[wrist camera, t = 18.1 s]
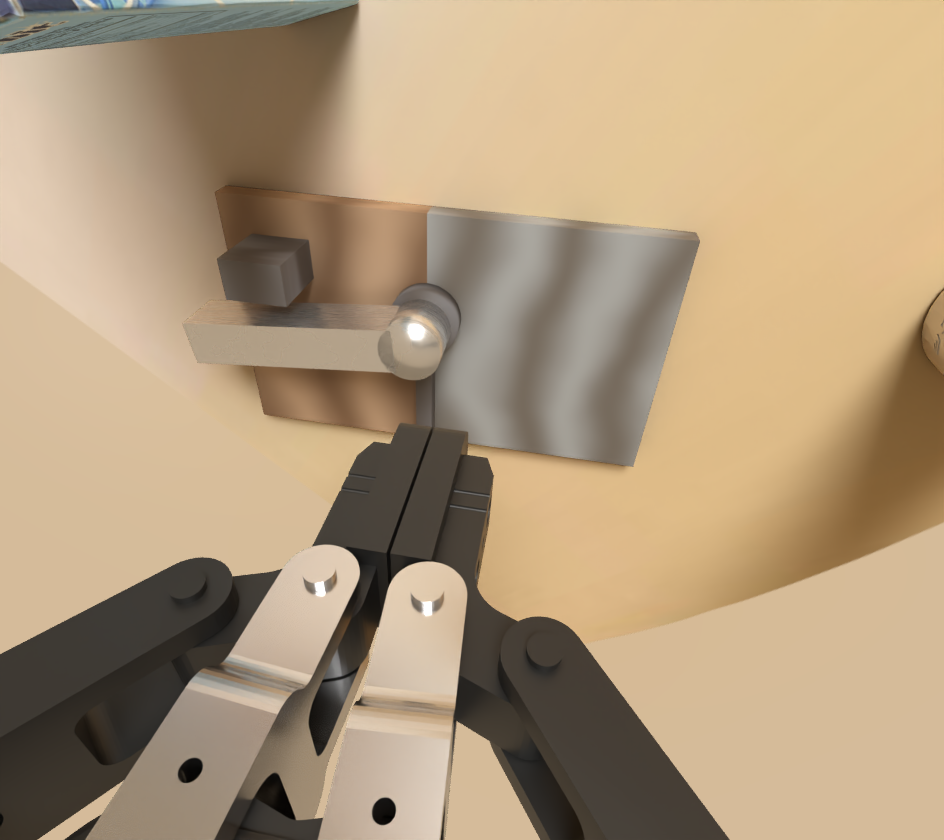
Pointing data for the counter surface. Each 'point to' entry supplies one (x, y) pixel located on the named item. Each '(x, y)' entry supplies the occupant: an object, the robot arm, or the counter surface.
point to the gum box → (141, 19)
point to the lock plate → (471, 315)
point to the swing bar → (322, 336)
